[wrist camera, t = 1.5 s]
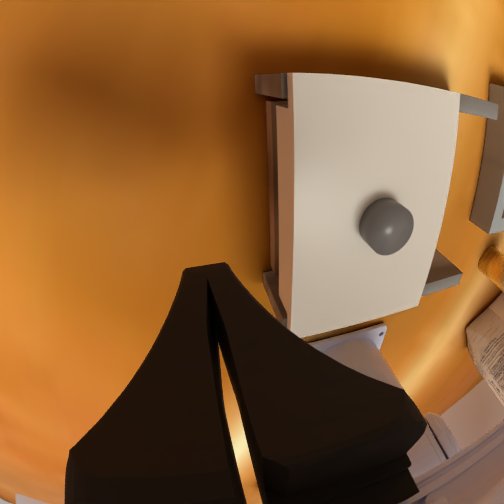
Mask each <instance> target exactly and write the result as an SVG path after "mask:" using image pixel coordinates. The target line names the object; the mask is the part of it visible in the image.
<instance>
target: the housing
mask: <svg viewBox="0 0 504 504" xmlns="http://www.w3.org/2000/svg"><path fill="white" fill-rule="evenodd" d="M255 93H256V94H261V95H267V96H272V97H277V98H288V84H287V73H271V74H257V75H255ZM276 105H288V100H266V122H267V149H268V179H269V214H270V258H271V268H272V270H273V271H268V272H263V284H264V287H265V290H266V292H267V295H268V297H269V300H270V302H271V305H272V307H273V309H274V312H275V314H276V317H277V319H278V321H279V322H280V323H281V324H283V325H284V326H285V327H286V328H287V312H286V310H285V308H284V306H283V303H282V301H281V299H280V297H279V208H278V154H277V118H276ZM459 112H462V113H467V114H472V115H477V116H481V117H486V118H490V119H494V120H497V116H498V104H496V103H492V102H489V101H486V100H482V99H479V98H475V97H471V96H468V95H464V94H460V106H459ZM462 274H463V273H462V272H461V271H460V270H459V269H458V268H457V267H456V266H455V265H453V264H452V263H451V262H450V261H449V260H448V259H447V258H446V257H444V256H443V255H442V254H441V253H440V252H439V251H438V250H436V249H435V252H434V256H433V260H432V263H431V267H430V270H429V273H428V277H427V280H426V283H425V286H424V289H423V292H422V295H421V296H424V295H428V294H431V293H434V292H437V291H440V290H443V289H446V288H449V287H452V286H455V285H458V284H459V282H460V279H461V277H462Z"/></svg>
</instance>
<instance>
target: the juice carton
mask: <svg viewBox="0 0 504 504" xmlns="http://www.w3.org/2000/svg"><path fill="white" fill-rule="evenodd" d="M466 334H467V345H468V350H469V353H470V355H471V358H472V360H473V362H474V365H475V367H476V368H477V370H478V371H479V373H480V374H481V376H482V377H483V378H484V380H485V381H486V382H487V384H488V385H489V387H490V388H491V389H492V390H493V392H494V394H495V395H496V396H497V398H498V399H499V401H500V402H501V403H502V405H503V406H504V292H502V293H501V294H500V295H499V296H498V297H497V298H496V299H495V300H494V302H493V303H492V304H491V305H490V306H489V307H488V308H487V309H486V310H485V311H484V312H482V313H481V314H480V315H479V316H478V317H477V318H476V319H475V320H474V321H473V322H472V323H471V324H470V325H469V326H468V327H467V328H466Z"/></svg>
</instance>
